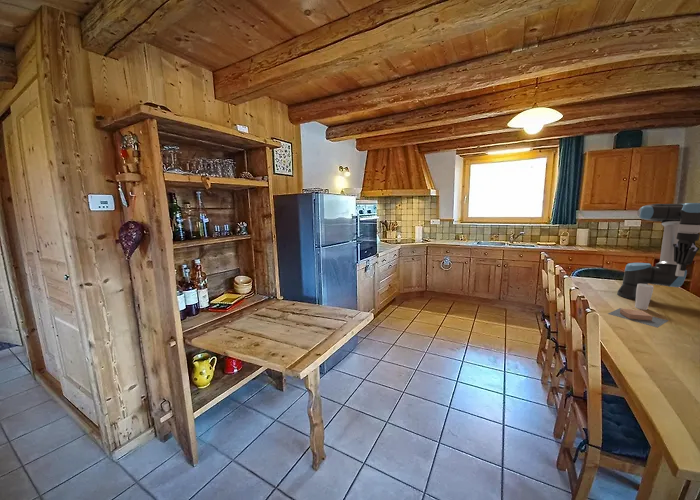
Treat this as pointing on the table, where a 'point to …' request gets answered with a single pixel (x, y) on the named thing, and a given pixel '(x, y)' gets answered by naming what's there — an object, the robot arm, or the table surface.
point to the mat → (655, 321)
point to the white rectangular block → (643, 296)
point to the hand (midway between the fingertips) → (679, 275)
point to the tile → (636, 314)
